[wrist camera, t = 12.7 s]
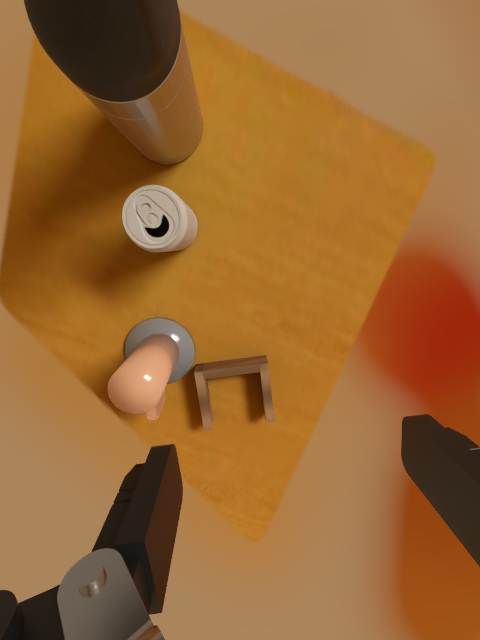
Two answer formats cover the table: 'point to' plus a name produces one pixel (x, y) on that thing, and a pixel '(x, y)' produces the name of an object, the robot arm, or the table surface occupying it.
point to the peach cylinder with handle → (144, 377)
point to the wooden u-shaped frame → (232, 369)
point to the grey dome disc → (171, 330)
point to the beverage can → (158, 219)
